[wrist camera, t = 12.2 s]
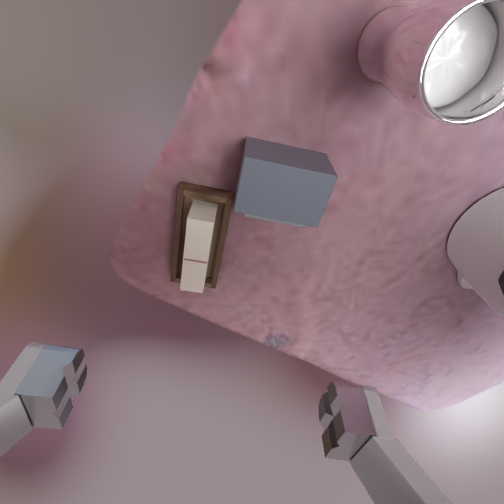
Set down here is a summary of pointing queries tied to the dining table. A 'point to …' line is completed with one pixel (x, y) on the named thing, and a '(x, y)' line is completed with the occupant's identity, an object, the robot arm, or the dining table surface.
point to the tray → (220, 228)
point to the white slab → (197, 245)
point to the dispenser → (283, 183)
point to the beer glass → (439, 57)
